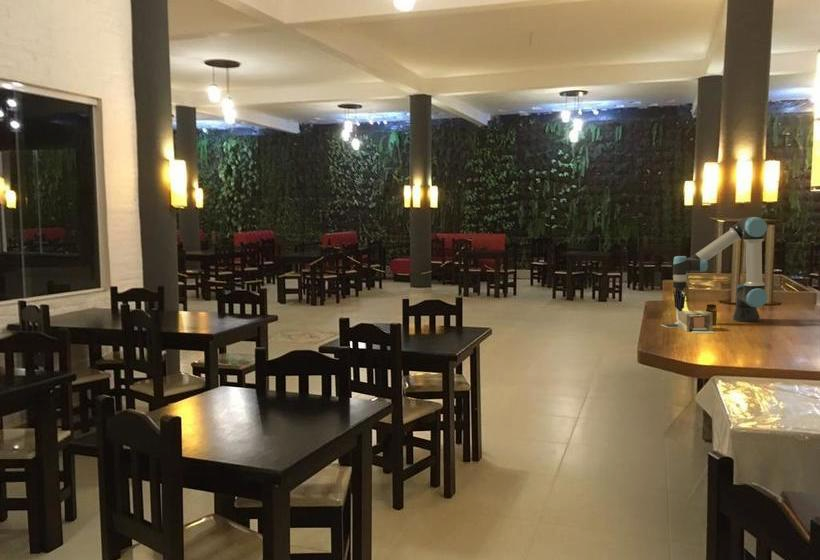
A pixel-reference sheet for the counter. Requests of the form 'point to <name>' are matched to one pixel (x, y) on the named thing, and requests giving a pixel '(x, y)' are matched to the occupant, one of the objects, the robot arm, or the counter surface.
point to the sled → (695, 323)
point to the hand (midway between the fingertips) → (679, 319)
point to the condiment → (713, 310)
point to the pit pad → (671, 325)
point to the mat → (702, 332)
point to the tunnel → (684, 315)
